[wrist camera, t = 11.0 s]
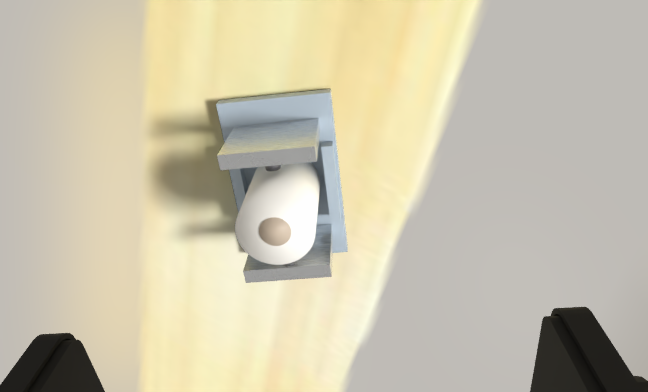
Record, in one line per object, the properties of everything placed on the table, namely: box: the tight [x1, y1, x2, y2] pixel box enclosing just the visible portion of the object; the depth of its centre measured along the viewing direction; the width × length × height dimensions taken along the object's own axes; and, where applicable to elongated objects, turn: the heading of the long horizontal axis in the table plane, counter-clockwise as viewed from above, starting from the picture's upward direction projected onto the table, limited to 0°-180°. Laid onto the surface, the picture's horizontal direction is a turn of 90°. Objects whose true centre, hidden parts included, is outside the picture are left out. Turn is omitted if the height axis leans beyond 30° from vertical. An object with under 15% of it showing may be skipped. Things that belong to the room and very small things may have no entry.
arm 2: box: [243, 224, 333, 283], centre depth 35 cm, size 2×6×6 cm, turn 96°
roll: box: [235, 162, 320, 265], centre depth 33 cm, size 5×5×7 cm
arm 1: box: [217, 118, 320, 171], centre depth 32 cm, size 2×6×6 cm, turn 96°
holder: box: [216, 89, 347, 253], centre depth 36 cm, size 13×8×2 cm, turn 6°
